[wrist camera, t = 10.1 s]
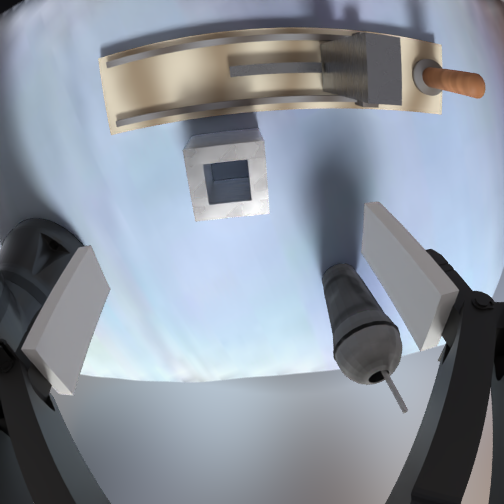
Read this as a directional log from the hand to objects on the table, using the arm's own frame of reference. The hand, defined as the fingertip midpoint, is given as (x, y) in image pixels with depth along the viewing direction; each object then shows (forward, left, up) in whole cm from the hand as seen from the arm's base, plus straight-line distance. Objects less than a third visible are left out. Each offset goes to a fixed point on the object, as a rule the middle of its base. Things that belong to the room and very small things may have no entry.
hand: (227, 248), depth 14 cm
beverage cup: (+12, -17, -18) cm, 28 cm away
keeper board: (+6, +8, -18) cm, 20 cm away
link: (0, -1, -18) cm, 18 cm away
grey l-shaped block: (+6, +8, -17) cm, 19 cm away
